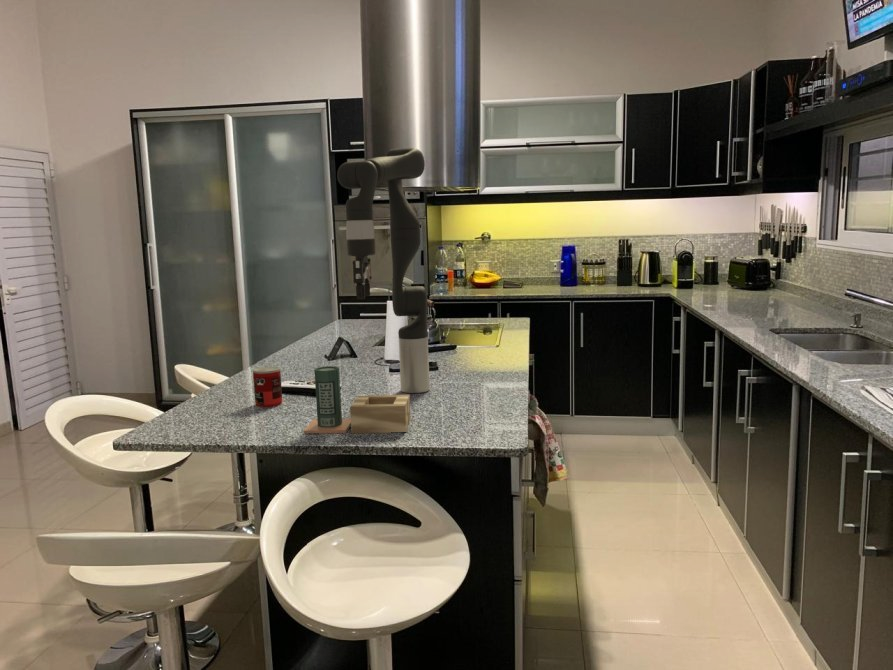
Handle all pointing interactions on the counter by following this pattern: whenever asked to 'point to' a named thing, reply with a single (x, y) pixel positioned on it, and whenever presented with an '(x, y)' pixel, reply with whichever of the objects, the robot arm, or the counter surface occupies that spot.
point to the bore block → (380, 414)
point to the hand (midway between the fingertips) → (363, 297)
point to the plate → (315, 428)
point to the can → (328, 396)
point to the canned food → (267, 386)
